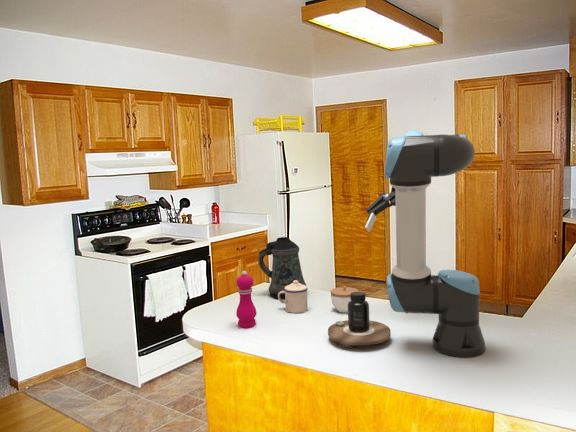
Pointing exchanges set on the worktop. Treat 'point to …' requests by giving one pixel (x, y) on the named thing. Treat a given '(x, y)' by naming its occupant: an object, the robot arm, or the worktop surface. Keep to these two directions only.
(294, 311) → the teacup with lid
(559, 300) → the worktop surface
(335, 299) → the lidded jar
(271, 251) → the beer stein
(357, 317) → the supplement bottle
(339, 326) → the stand
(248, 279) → the pepper mill
